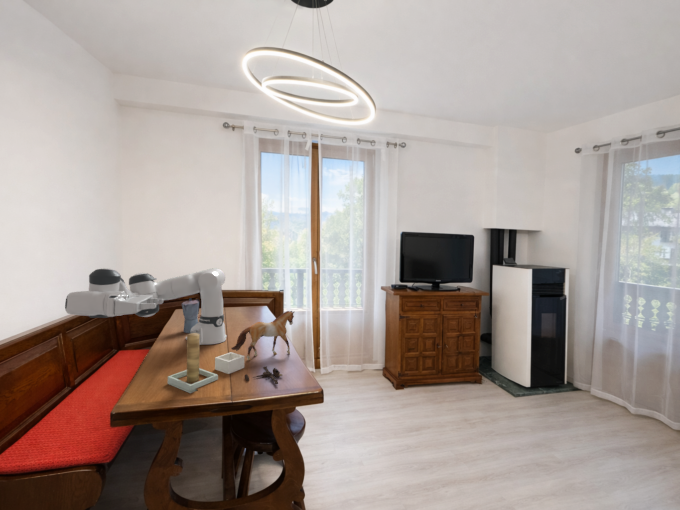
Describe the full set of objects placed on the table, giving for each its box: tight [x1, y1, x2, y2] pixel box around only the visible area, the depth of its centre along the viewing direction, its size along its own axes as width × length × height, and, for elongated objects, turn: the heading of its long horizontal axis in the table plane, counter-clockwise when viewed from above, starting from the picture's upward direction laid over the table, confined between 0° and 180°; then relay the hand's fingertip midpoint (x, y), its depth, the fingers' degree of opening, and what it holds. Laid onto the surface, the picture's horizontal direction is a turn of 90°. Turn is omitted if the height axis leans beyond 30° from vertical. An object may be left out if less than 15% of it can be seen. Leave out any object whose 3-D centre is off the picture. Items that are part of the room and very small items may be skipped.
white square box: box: [214, 351, 245, 375], centre depth 142 cm, size 8×8×6 cm
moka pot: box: [181, 297, 201, 334], centre depth 199 cm, size 10×15×20 cm, turn 172°
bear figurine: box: [244, 366, 283, 385], centre depth 135 cm, size 18×4×14 cm
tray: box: [167, 367, 219, 394], centre depth 130 cm, size 14×12×3 cm
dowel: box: [186, 333, 200, 384], centre depth 129 cm, size 4×4×18 cm
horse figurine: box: [230, 310, 295, 361], centre depth 160 cm, size 31×8×21 cm, turn 123°
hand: (159, 303), depth 126 cm, fingers open, 8 cm apart
